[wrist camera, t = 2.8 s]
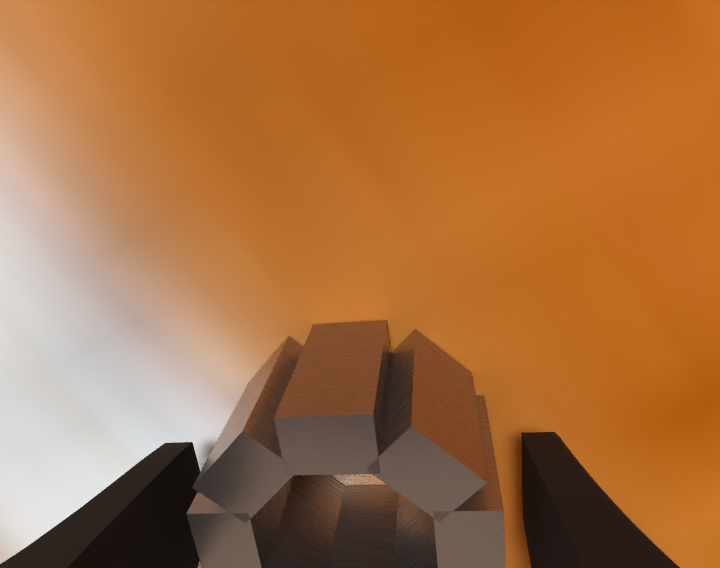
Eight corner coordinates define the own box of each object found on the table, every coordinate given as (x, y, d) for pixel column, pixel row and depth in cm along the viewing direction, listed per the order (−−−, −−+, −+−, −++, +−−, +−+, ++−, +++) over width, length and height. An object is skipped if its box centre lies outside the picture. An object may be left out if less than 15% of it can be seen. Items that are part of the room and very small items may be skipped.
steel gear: (269, 522, 15) (226, 651, 11) (226, 329, 13) (159, 421, 9) (489, 521, 14) (508, 659, 11) (481, 315, 12) (500, 410, 9)
